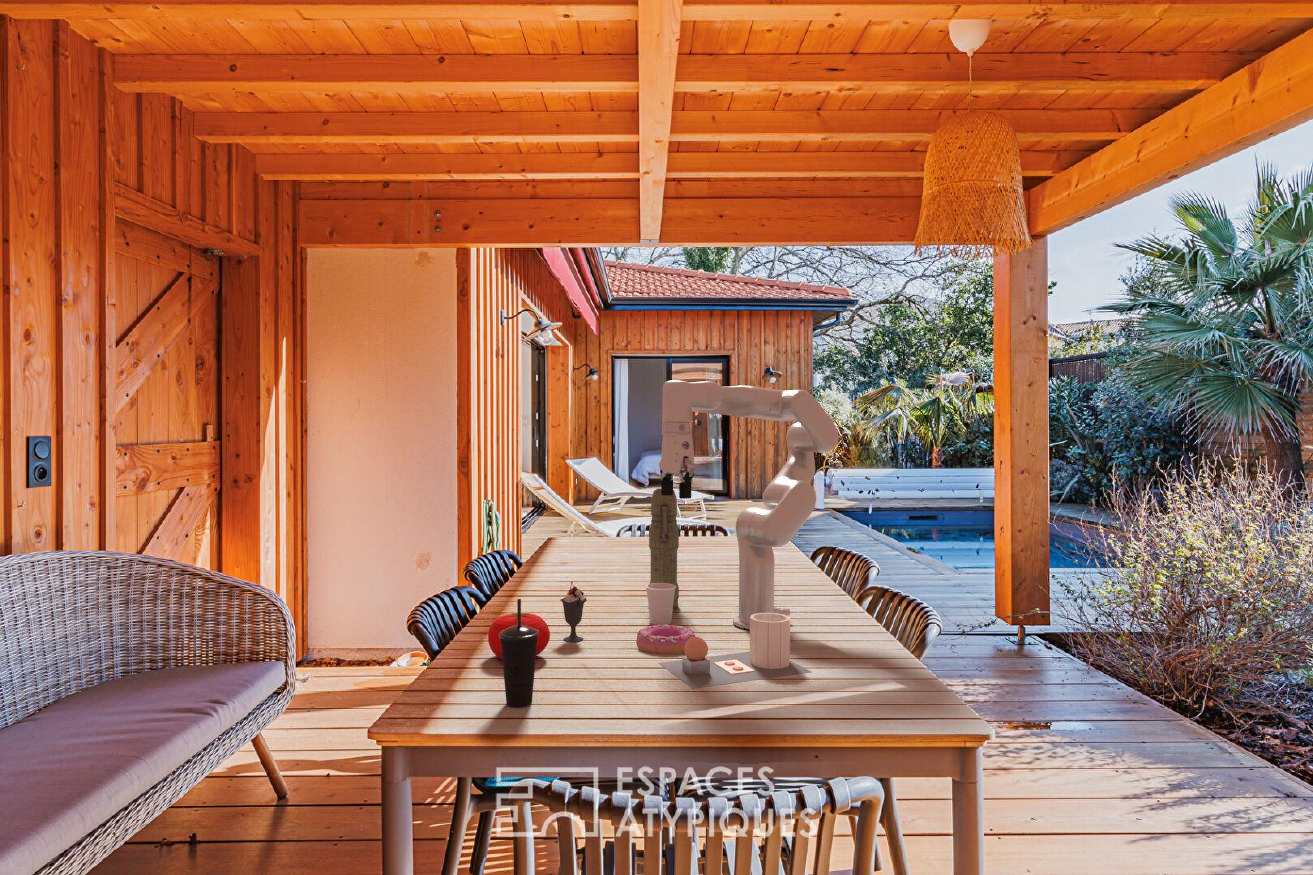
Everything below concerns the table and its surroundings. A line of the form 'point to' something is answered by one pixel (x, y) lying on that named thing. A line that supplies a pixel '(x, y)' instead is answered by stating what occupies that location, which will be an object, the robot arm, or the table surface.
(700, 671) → the grey hollow block
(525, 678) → the drinking cup
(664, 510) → the olive tall column
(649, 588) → the dixie cup
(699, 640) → the ball
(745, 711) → the table surface
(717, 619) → the table surface
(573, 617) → the sundae
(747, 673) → the board
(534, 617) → the tomato
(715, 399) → the robot arm
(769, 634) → the tube
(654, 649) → the donut
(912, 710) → the table surface
